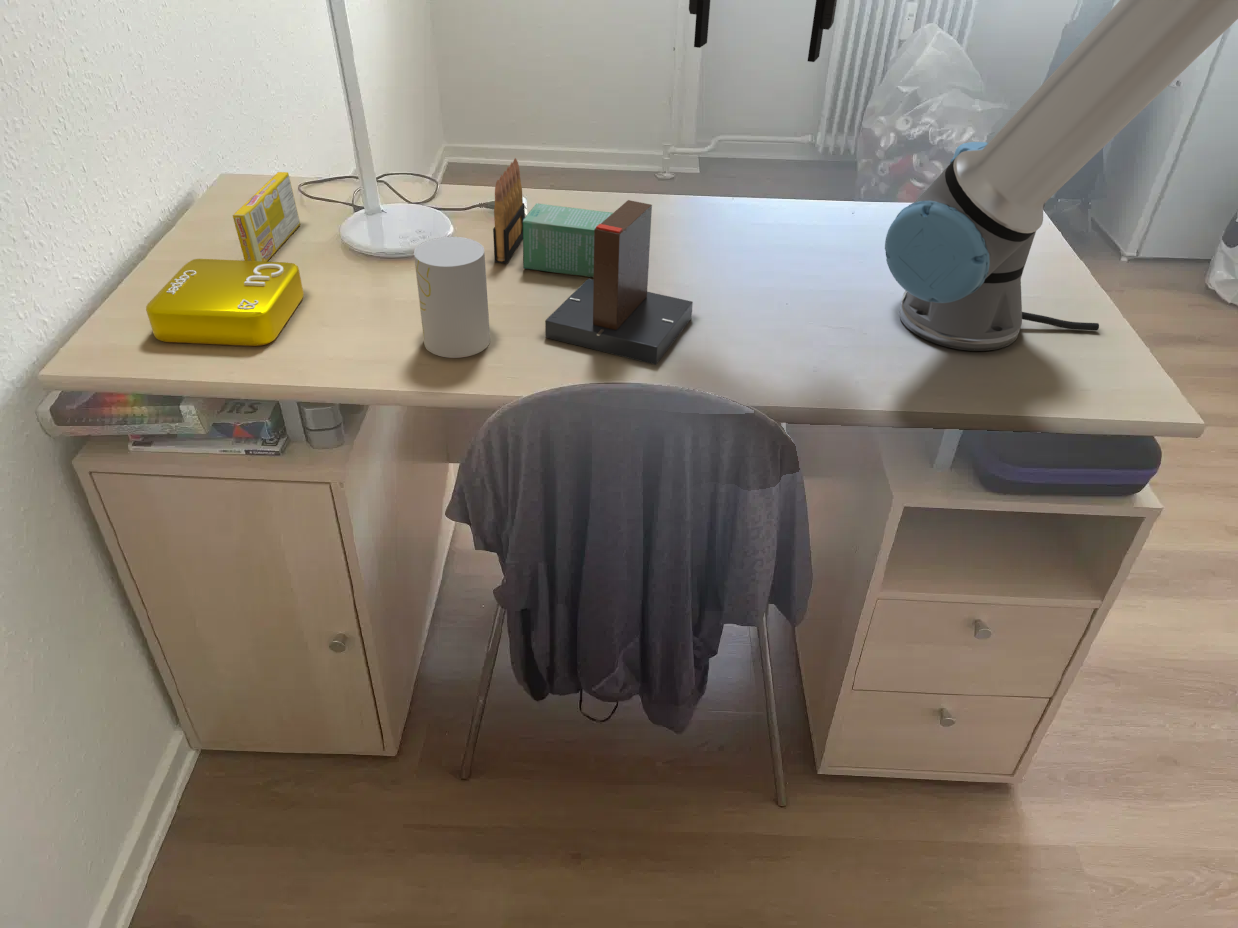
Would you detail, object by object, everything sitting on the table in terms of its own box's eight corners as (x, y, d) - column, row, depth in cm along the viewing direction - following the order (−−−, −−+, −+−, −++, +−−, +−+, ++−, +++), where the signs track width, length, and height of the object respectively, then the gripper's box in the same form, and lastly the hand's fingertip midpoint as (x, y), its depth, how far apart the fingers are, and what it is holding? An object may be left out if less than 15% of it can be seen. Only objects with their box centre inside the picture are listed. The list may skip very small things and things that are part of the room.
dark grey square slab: (693, 316, 122) (694, 298, 120) (654, 367, 111) (655, 348, 110) (589, 293, 126) (590, 275, 124) (543, 340, 116) (542, 321, 114)
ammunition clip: (506, 264, 132) (502, 182, 125) (494, 263, 133) (489, 181, 125) (525, 234, 141) (523, 156, 133) (514, 233, 141) (510, 155, 134)
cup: (431, 323, 118) (421, 235, 111) (494, 326, 118) (489, 238, 111) (418, 356, 112) (407, 265, 104) (484, 359, 111) (478, 268, 104)
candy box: (287, 224, 141) (277, 171, 136) (301, 225, 141) (291, 171, 136) (244, 270, 128) (231, 213, 123) (259, 271, 128) (246, 214, 123)
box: (615, 281, 129) (617, 230, 125) (522, 271, 131) (520, 220, 126) (625, 260, 135) (627, 210, 130) (535, 250, 137) (534, 201, 132)
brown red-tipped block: (624, 291, 121) (628, 198, 113) (647, 296, 120) (652, 202, 113) (592, 324, 114) (594, 227, 106) (616, 330, 113) (619, 232, 105)
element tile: (198, 286, 124) (189, 253, 121) (308, 291, 124) (302, 258, 121) (148, 342, 112) (137, 307, 109) (271, 348, 112) (262, 313, 109)
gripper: (653, -173, 95) (644, 46, 108) (897, -160, 88) (856, 73, 101) (677, -176, 101) (666, 33, 114) (908, -164, 94) (868, 57, 107)
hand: (755, 52), depth 107 cm, fingers open, 13 cm apart
